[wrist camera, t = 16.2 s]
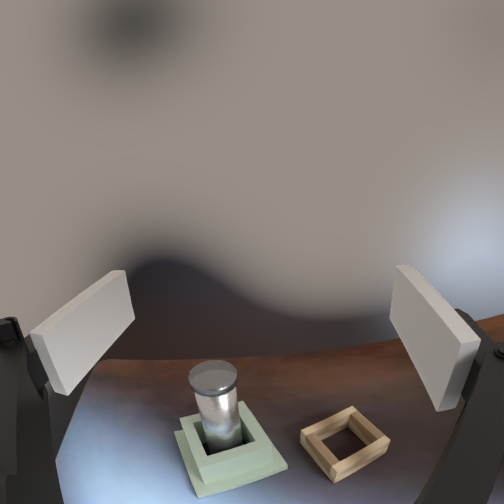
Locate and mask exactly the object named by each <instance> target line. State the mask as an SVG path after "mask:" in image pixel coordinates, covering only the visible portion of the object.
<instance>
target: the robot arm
mask: <svg viewBox="0 0 504 504" xmlns="http://www.w3.org/2000/svg"><path fill="white" fill-rule="evenodd" d="M134 319H135V316H134V312H133V308H132V303H131V299H130V294H129V289H128V285H127V280H126V275H125V271H122V270H120V271H119V270H114V271H113V270H112V271H111V272H110V273H108V274H107V275H105V276H104V277H103V278H101V279H100V280H98V281H97V282H96V283H94V284H93V285H91V286H90V287H89V288H87V289H86V290H85V291H83V292H82V293H80V294H79V295H78V296H76V297H75V298H74V299H72V300H71V301H70V302H68V303H67V304H66V305H64V306H63V307H62V308H60V309H59V310H58V311H57V312H55V313H54V314H52V315H51V316H50V317H48V318H47V319H46V320H45V321H43V322H42V323H41V324H40V325H38V326H37V327H36V328H34V329H33V330H32V331H31V332H29V335H28V336H27V337H25V338H24V337H23V334H22V331H21V329H20V326H19V323H18V321H17V318H15V317H6V318H3V319H0V504H64V502H63V498H62V493H61V489H60V484H59V479H58V474H57V469H56V463H55V457H54V451H53V444H52V436H51V427H50V417H49V406H48V405H49V404H48V392H47V389H46V387H45V384H46V382H47V381H48V380H49V381H50V383H51V385H52V387H53V389H54V391H55V392H57V393H60V394H64V395H67V396H68V395H69V394H70V393H71V392H72V390H73V389H74V388H75V387H76V385H77V384H78V383H79V382H80V381H81V380H82V379H83V377H84V376H85V375H86V374H87V373H88V371H89V370H90V369H91V368H92V367H93V366H94V364H95V363H96V362H97V361H98V360H99V359H100V358H101V356H102V355H103V354H104V353H105V352H106V351H107V350H108V348H109V347H110V346H111V345H112V344H113V343H114V342H115V340H116V339H117V338H118V337H119V336H120V335H121V334H122V333H123V331H124V330H125V329H126V328H127V327H128V326H129V325H130V323H131V322H132V321H133V320H134ZM390 320H391V322H392V324H393V326H394V327H395V329H396V331H397V333H398V335H399V337H400V339H401V340H402V342H403V344H404V346H405V348H406V350H407V352H408V354H409V356H410V358H411V360H412V362H413V363H414V365H415V367H416V369H417V371H418V373H419V375H420V377H421V380H422V382H423V384H424V386H425V388H426V390H427V392H428V394H429V396H430V398H431V400H432V403H433V405H434V407H435V409H436V411H437V412H440V411H444V410H449V409H453V408H456V406H457V404H458V401H459V399H460V397H461V394H462V396H463V398H464V400H465V402H466V403H465V405H464V407H463V410H462V412H461V414H460V416H459V418H458V420H457V422H456V424H455V425H456V426H455V428H454V431H453V433H452V435H451V437H450V439H449V442H448V444H447V446H446V448H445V450H444V452H443V454H442V456H441V458H440V460H439V462H438V464H437V465H436V467H435V469H434V471H433V473H432V475H431V476H430V478H429V480H428V482H427V483H426V485H425V487H424V488H423V490H422V492H421V493H420V495H419V496H418V498H417V500H416V501H415V503H414V504H487V501H488V499H489V496H490V494H491V491H492V488H493V485H494V483H495V480H496V477H497V474H498V471H499V468H500V464H501V461H502V458H503V454H504V343H501V342H498V343H494V342H493V341H492V340H491V339H490V337H489V336H488V335H487V334H486V333H485V332H484V331H483V330H482V329H481V328H479V325H478V324H477V323H476V322H474V320H473V319H472V318H471V317H470V316H469V315H468V314H467V313H465V312H463V311H461V310H460V309H453V308H452V307H451V306H450V305H449V304H448V303H447V302H446V300H445V299H444V298H443V297H442V296H441V295H440V294H439V293H438V292H437V291H436V290H435V289H434V288H433V287H432V286H431V285H430V284H429V283H428V282H427V281H426V280H425V279H424V278H423V277H422V276H421V275H420V274H419V273H418V272H417V271H416V270H415V269H414V268H413V267H412V266H411V265H396V267H395V278H394V287H393V296H392V304H391V311H390Z"/></svg>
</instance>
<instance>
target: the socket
mask: <svg viewBox="0 0 504 504" xmlns="http://www.w3.org/2000/svg"><path fill="white" fill-rule="evenodd" d="M238 408H239V416H240V423H241V431H242V437H243V439H244V440H245V442H246V444H245V445H242V446H239V447H236V448H233V449H230V450H226V451H223V452H220V453H216V454H213V455H209V456H207V455H206V453H205V451H204V448H203V446H202V444H203V443H207V440H206V436H205V433H204V429H203V425H202V421H201V417H200V413H198V414H194V415H190V416H186V417H182V418H180V421H181V425H182V428H183V430H179V431H175V432H174V434H175V437H176V440H177V443H178V446H179V449H180V452H181V455H182V457H183V460H184V463H185V466H186V468H187V471H188V474H189V476H190V479H191V482H192V484H193V487H194V489H195V492H196V494H197V496H198V499H199V498H203V497H206V496H210V495H214V494H217V493H221V492H224V491H227V490H231V489H234V488H237V487H240V486H243V485H246V484H249V483H252V482H255V481H257V480H260V479H263V478H266V477H268V476H271V475H273V474H276V473H279V472H281V471H283V470H286V469H288V465H287V463H286V462H285V461H284V459H283V458H282V456H281V455H280V454H279V452H278V451H277V449H276V448H275V446H274V445H273V444H272V442H271V441H270V439H269V438H268V436H267V435H266V433H265V432H264V430H263V429H262V427H261V426H260V424H259V423H258V421H257V420H256V418H255V417H254V415H253V414H252V412H251V411H249V409H248V408H247V406H246V404H245V403H244V401H240V402H238Z"/></svg>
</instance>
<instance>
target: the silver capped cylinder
mask: <svg viewBox="0 0 504 504" xmlns="http://www.w3.org/2000/svg"><path fill="white" fill-rule="evenodd" d="M188 378H189V383H190V386H191V389H192V390H193V391H194V392H195V396H196V401H197V405H198V409H199V413H200V417H201V421H202V425H203V429H204V433H205V436H206V440H207V444H208V448H209V451H210V455H213V454H216V453H220V452H223V451H226V450H230V449H233V448H236V447H239V446H242V445H243V438H242V431H241V423H240V416H239V408H238V401H237V393H236V385H237V382H238V378H237V371H236V368H235V367H234V366H233V365H232V364H230V363H228V362H225V361H220V360H211V361H205V362H202V363H200V364H198V365H196V366H195V367H193V368H192V369H191V371H190V372H189V376H188Z"/></svg>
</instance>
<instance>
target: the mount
mask: <svg viewBox="0 0 504 504" xmlns="http://www.w3.org/2000/svg"><path fill="white" fill-rule="evenodd" d="M347 427H348V428H349V429H350V430H351V431H352V432H353V433H354V434H355V435H356V436H357V437H359V438H360V439H361V440H362V441H363V442H364V443H365V444H366V445H367V447H365V448H363V449H362V450H360V451H358V452H356V453H355V454H353V455H351V456H349V457H348V458H346V459H344V460H342V461H339V460H338V459H337V458H336V457H335V456H334V455H333V454H332V453H331V451H330V450H329V449H328V448H327V447H326V446H325V445H324V444H323V442H322V441H321V440H323V439H325V438H327V437H329V436H331V435H333V434H335V433H337V432H339V431H341V430H343V429H345V428H347ZM300 443H301V445H302V446H303V447H304V448H305V450H306V451H307V452H308V453H309V455H310V456H311V457H312V458H313V459H314V461H315V462H316V463H317V464H318V465H319V467H320V468H321V469H322V470H323V471H324V473H325V474H326V475H327V476H328V477H329V478H330V480H331V481H332V482H333V483H336V482H338V481H340V480H341V479H343V478H345V477H347V476H349V475H350V474H352V473H354V472H356V471H357V470H359V469H361V468H362V467H364V466H366V465H367V464H369V463H371V462H372V461H374V460H375V459H377V458H378V457H380V456H382V455H383V454H385V453H386V451H387V448H388V446H389V443H390V439H389V438H388V437H386V436H385V435H384V434H383V433H382V432H381V431H380V430H379V429H377V428H376V427H375V426H374V425H373V424H372V423H371V422H369V421H368V420H367V419H366V418H365V417H364V416H363V415H362V414H361V413H359V412H358V411H357V410H356V409H355V408H354V407H353V406H351V407H349V408H347V409H345V410H343V411H341V412H339V413H337V414H335V415H333V416H331V417H329V418H327V419H325V420H322V421H320V422H318V423H316V424H314V425H311V426H309V427H307V428H305V429H302V430H301V437H300Z"/></svg>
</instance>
